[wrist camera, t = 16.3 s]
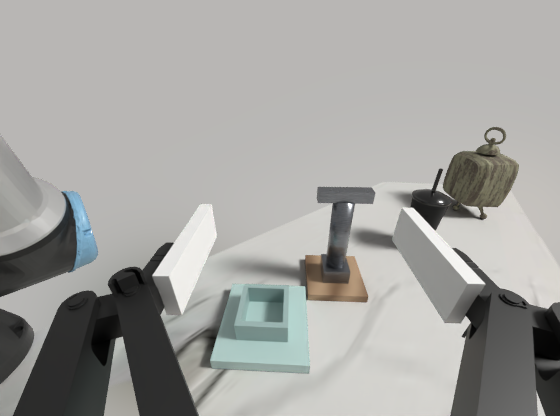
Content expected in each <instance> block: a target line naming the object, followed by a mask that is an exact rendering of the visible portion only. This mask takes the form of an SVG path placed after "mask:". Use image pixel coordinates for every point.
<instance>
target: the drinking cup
mask: <svg viewBox="0 0 560 416" xmlns="http://www.w3.org/2000/svg"><path fill="white" fill-rule="evenodd" d="M442 171H443V169H439V171H438V174H437V177H436V180H435V182H434V185H433V188H432V190H431V189H423V190H415V191H413V192H412V203H411V208H414V209H415V210H416V211H417V212H418V213H419V214H420V215H421V216H422V218H423V219H424V220H425V221H426V222H427V223H428V224H429V225H430V226H431V227H432V228H433V229H434V230H436V229H437V227H438V225H439V223H440V221H441V219H442V217H443V215H444V213H445V211H446V210H447V208H448V206H449V205H451V203H452V199H451V198H450V197H448V196H447V195H445V194H443V193H441V192H439V191H436V188H437V185H438V182H439V179H440V176H441V174H442Z"/></svg>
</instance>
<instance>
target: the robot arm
mask: <svg viewBox="0 0 560 416" xmlns="http://www.w3.org/2000/svg"><path fill="white" fill-rule="evenodd" d="M216 237H217V235H216V229H215V222H214V216H213V210H212V205H211V204H201V205H200V206H199V207H198V209H197V210H196V212H195V213H194V215H193V216H192V218H191V219H190V221H189V222H188V223H187V225H186V226H185V228H184V230H183V231H182V233H181V234H180V235H179V237H178V238H177V240H176V241H175V243H165V244H164V245H163V246H161V247H160V248H159V249H158V250H157V252H156V253H155V254H154V256H153V257H152V258H151V260H150V262H148V264H147V265H146V266H145V268H144V269H143V270H141V269H140V268H138V267H129V268H125V269H122V270H120V271H119V272H117V273H115V274H114V275H113V276H112V277H111V278H110V280H109V281H108V286H109V288H110V290H111V291H112V294H110V295H105V296H100V297H97V295H96V294H95V293H94V292H93V291H82V292H79V293H76V294H74V295H72V296H71V297H69V298H67V299H66V300H65V301H64V302H63V303H62V304H61V305H60V307H59V308H58V310H57V313H56V315H55V318H54V320H53V322H52V324H51V327H50V329H49V332H48V334H47V336H46V339H45V341H44V343H43V346H42V348H41V351H40V353H39V355H38V358H37V360H36V362H35V365H34V367H33V369H32V372H31V374H30V377H29V379H28V381H27V384H26V386H25V388H24V391H23V393H22V396H21V398H20V400H19V403H18V405H17V407H16V410H15V412H14V415H13V416H104V410H105V403H106V397H107V391H108V384H109V378H110V372H111V365H112V359H113V352H114V346H115V340H116V338H119V337H123V339H124V344H125V349H126V353H127V358H128V363H129V368H130V372H131V377H132V382H133V387H134V391H135V396H136V401H137V405H138V410H139V415H140V416H199V414H198V412H197V409H196V407H195V404H194V401H193V399H192V396H191V394H190V391H189V388H188V386H187V383H186V381H185V378H184V375H183V373H182V370H181V368H180V365H179V362H178V360H177V357H176V355H175V352H174V349H173V347H172V344H171V342H170V339H169V336H168V334H167V331H166V329H165V326H164V323H163V321H162V318H161V316H160V315H161V313H162V311H163V309H164V308H165V311H166V314H167V315H182V314H183V312H184V309H185V307H186V305H187V303H188V300H189V298H190V296H191V293H192V291H193V289H194V287H195V284H196V282H197V280H198V278H199V275H200V273H201V271H202V269H203V266H204V264H205V262H206V259H207V257H208V255H209V253H210V250H211V248H212V246H213V244H214V241H215V239H216ZM392 241H393V242H394V244H395V245H396V247H397V248H398V250H399V252H400V253H401V255H402V256H403V258H404V259H405V261H406V263H407V264H408V266H409V267H410V269H411V271H412V272H413V274H414V275H415V277H416V278H417V280H418V282H419V283H420V285H421V286H422V288H423V289H424V291H425V293H426V294H427V296H428V297H429V299H430V300H431V302H432V304H433V305H434V307H435V308H436V310H437V311H438V313H439V315H440V316H441V318H442V319H443V321H444V322H445V323H461V322H462V320H463V319H464V317H465V316H467V318H468V319H469V320H470V322H471V323H470V325H469V326H468V328H467V329H466V331H465V332H464V334H463V335H462V337H464V338H465V336H466V340H465V345H464V350H463V355H462V360H461V365H460V370H459V375H458V380H457V385H456V390H455V395H454V400H453V405H452V410H451V415H450V416H538V412H537V395H536V390H537V393H538V396H539V398H540V401H541V404H542V407H543V409H544V412H545V415H546V416H560V302H558V303H553V304H552V305H551V307H550V308H549V309H545V308H541V307H537V306H533V305H529V303H528V302H527V301H526V300H525V299H523V298H522V297H521V296H519V295H518V294H516V293H514V292H512V291H509V290H506V289H500V288H499V287H498V286H497V285H496V284H495V283H494V282H493V281H492V280H491V279H490V278H489V277H488V276H487V275H486V274H485V273H484V272H483V271H482V270H481V269H479V268H478V266H477V265H476V264H475V263H473V261H472V260H471V259H470V258H469V257H468V256H467V255H466V254H464V253H463V252H461V251H460V250H458V249H457V248H451V247H450V246H449V245H448V244H447V243H446V242H445V241H444V240H443V239H442V238H441V237H440V235H439V234H438V233H437V232H436V231H435V230H434V229H433V228H432V227H431V226H430V225H429V224H428V223H427V222H426V221H425V220H424V219H423V218H422V216H421V215H420V214H419V213H418V212H417V211H416V210H415V209H414V208H402V209H401V212H400V215H399V219H398V222H397V225H396V228H395V232H394V235H393V238H392ZM97 255H98V249H97V245H96V242H95V238H94V235H93V232H92V230H91V226H90V223H89V219H88V216H87V214H86V211H85V208H84V205H83V202H82V200H81V197H80V195H79V194H78V193H77V192H74V191H70V192H67V191H63V192H61V191H60V190H59V189H58V188H57V187H56V186H54V185H53V184H51V183H49V182H47V181H44V180H42V179H38V178H34V177H32V176H31V175H30V174H29V172H28V171H27V170H26V168H25V167H24V166H23V164H22V163H21V161H20V160H19V159H18V157H17V156H16V155H15V154H14V152H13V151H12V149H11V148H10V147H9V145H8V144H7V143H6V141H5V140H4V139H3V137H2V136H1V135H0V297H1V296H4V295H7V294H10V293H12V292H15V291H18V290H20V289H23V288H26V287H28V286H31V285H34V284H37V283H39V282H42V281H45V280H47V279H50V278H53V277H55V276H58V275H61V274H63V273H66V272H73V271H74V270H75V269H77V268H79V267H82V266H84V265H86V264H89V263H91V262H92V261H94V260H95V259H96V257H97ZM33 339H34V332H33V329H32V328H31V326H30V325H29V324H28V323H27V322H26V321H25V320H24V319H23V318H22V317H20V316H18V315H15V314H13V313H10V312H7V311H5V310H2V309H0V384H1V383H2V382H3V381H4V380H5V379H6V378H7V377H8V376H9V375H10V374H11V373H12V372H13V371H14V370H15V369H16V368H17V367H18V365H19V364H20V363H21V362H22V360H23V359H24V358H25V356H26V355H27V353H28V351H29V350H30V348H31V346H32V343H33Z"/></svg>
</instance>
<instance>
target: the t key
mask: <svg viewBox="0 0 560 416" xmlns="http://www.w3.org/2000/svg"><path fill="white" fill-rule="evenodd" d="M374 196H375V192H374V190H373V189H372V188H361V187H360V188H359V187H318V190H317V200H318V203H333V206H332V215H331V223H330V232H329V240H328V249H327V254H321V261H320V268H321V275H322V282H323V283H340V284H348V283H349V278H350V273H351V272H350V269H349V266H348V262H347V259H346V253H347V247H348V241H349V235H350V229H351V223H352V217H353V212H354V206H355V203H359V204H373V201H374Z"/></svg>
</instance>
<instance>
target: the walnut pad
mask: <svg viewBox="0 0 560 416" xmlns="http://www.w3.org/2000/svg"><path fill="white" fill-rule="evenodd" d="M346 259H347V262H348V266H349V269H350V272H351V273H350V278H349V283H348V284H340V283H323V282H322V275H321V268H320V261H321V256H316V255H306V256H305V264H306V280H307V295H308V300H321V301H349V302H367V300H368V294H367V291H366V289H365V286H364V283H363V280H362V277H361V274H360V271H359V268H358V265H357V262H356V260H355V257H353V256H346Z"/></svg>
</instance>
